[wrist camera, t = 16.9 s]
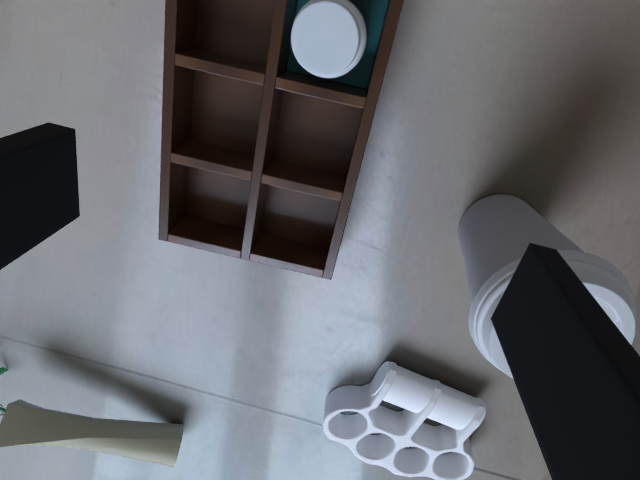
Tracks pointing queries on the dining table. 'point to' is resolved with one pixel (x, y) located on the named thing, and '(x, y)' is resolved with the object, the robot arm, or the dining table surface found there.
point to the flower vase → (89, 433)
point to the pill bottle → (329, 37)
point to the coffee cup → (505, 255)
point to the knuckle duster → (406, 424)
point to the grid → (262, 132)
